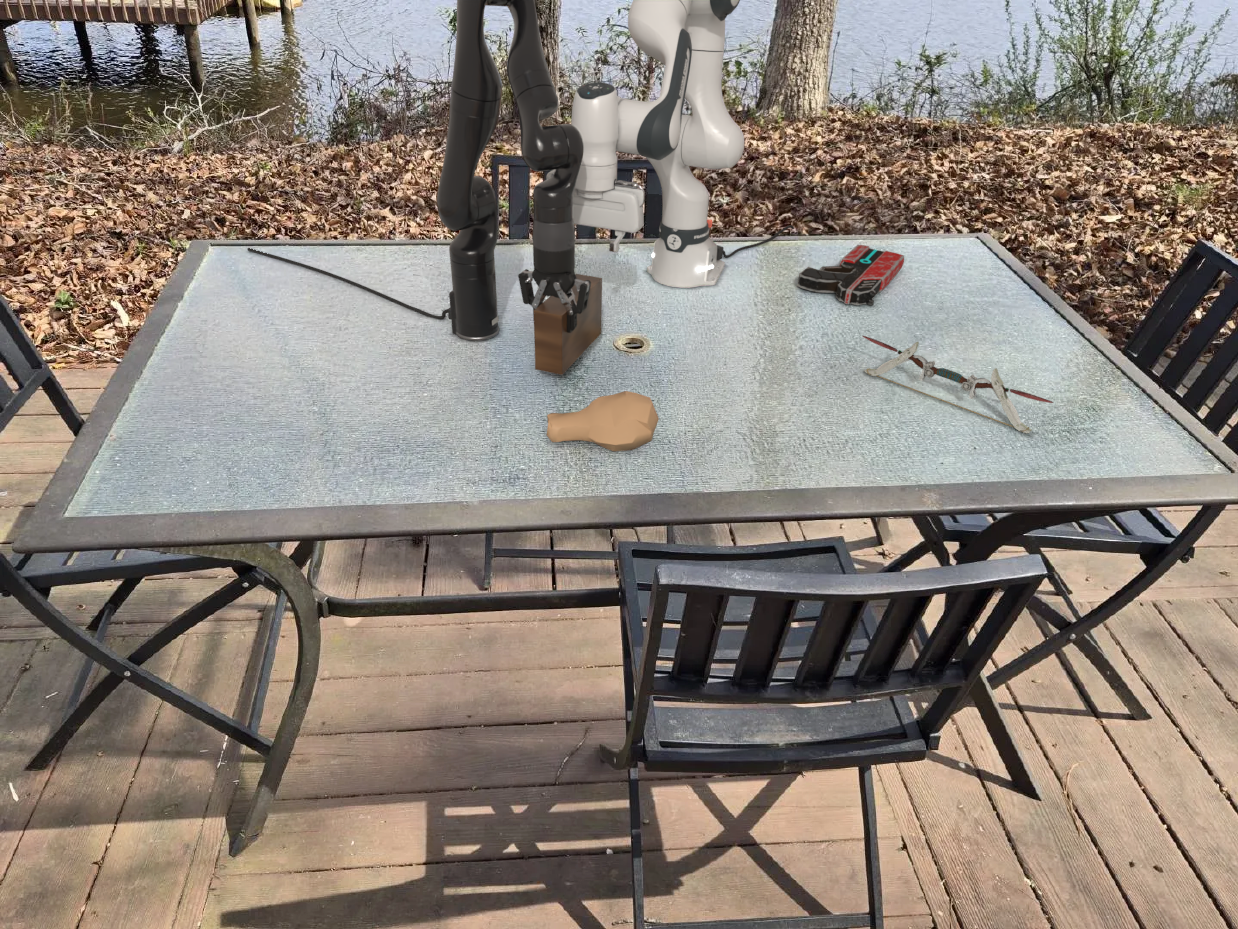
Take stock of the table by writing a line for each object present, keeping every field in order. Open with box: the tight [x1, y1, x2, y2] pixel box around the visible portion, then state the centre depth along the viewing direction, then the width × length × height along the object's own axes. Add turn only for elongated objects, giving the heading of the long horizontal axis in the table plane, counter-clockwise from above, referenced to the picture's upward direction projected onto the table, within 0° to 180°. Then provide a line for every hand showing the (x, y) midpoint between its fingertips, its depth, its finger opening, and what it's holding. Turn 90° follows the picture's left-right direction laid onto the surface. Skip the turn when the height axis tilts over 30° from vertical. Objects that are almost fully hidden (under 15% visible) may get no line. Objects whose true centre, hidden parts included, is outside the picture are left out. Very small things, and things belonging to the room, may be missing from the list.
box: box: [533, 273, 603, 376], centre depth 173 cm, size 20×6×12 cm, turn 159°
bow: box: [861, 335, 1054, 434], centre depth 169 cm, size 39×2×10 cm, turn 47°
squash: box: [545, 390, 660, 452], centre depth 154 cm, size 11×20×9 cm, turn 90°
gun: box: [796, 244, 905, 307], centre depth 222 cm, size 4×31×19 cm
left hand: (555, 327), depth 167 cm, fingers closed on box, 5 cm apart
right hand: (592, 247), depth 174 cm, fingers open, 8 cm apart
